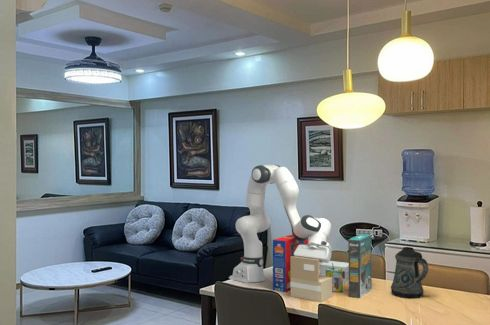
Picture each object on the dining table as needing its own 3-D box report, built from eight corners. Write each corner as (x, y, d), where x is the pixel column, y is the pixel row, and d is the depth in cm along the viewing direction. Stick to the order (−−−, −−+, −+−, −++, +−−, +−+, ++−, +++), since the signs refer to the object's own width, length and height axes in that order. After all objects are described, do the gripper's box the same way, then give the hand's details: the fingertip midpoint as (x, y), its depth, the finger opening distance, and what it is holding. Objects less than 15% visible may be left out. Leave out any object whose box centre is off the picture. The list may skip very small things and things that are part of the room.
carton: (290, 296, 252) (290, 276, 252) (302, 291, 262) (301, 272, 262) (321, 302, 242) (320, 281, 242) (332, 296, 251) (331, 277, 251)
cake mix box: (360, 287, 270) (360, 234, 270) (371, 288, 267) (371, 234, 267) (348, 296, 251) (348, 239, 251) (360, 298, 248) (359, 240, 248)
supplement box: (319, 279, 290) (319, 263, 290) (327, 274, 301) (327, 260, 301) (346, 282, 281) (346, 266, 281) (353, 278, 293) (353, 262, 293)
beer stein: (393, 289, 266) (393, 244, 266) (430, 293, 257) (430, 246, 257) (388, 296, 251) (388, 248, 251) (427, 301, 242) (427, 251, 242)
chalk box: (342, 292, 259) (342, 265, 259) (325, 291, 261) (325, 264, 261) (342, 288, 268) (342, 261, 268) (326, 287, 270) (326, 261, 270)
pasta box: (285, 292, 260) (285, 241, 261) (273, 290, 265) (272, 239, 265) (308, 281, 284) (308, 234, 284) (296, 279, 288) (296, 233, 288)
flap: (290, 277, 251) (290, 256, 251) (291, 277, 252) (291, 256, 252) (317, 282, 241) (317, 260, 241) (319, 281, 242) (318, 259, 242)
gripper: (297, 239, 261) (287, 260, 253) (331, 243, 249) (322, 265, 241) (301, 246, 265) (292, 267, 257) (335, 250, 252) (326, 272, 245)
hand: (307, 266), depth 249 cm, fingers closed
